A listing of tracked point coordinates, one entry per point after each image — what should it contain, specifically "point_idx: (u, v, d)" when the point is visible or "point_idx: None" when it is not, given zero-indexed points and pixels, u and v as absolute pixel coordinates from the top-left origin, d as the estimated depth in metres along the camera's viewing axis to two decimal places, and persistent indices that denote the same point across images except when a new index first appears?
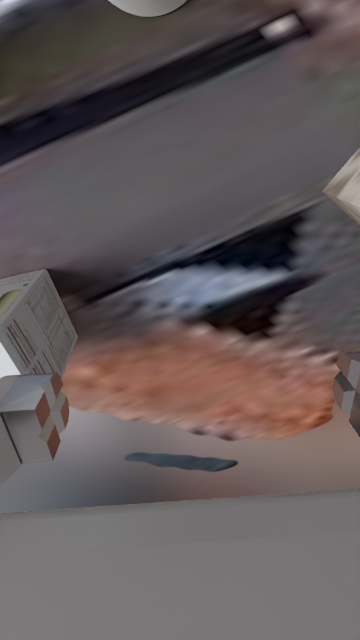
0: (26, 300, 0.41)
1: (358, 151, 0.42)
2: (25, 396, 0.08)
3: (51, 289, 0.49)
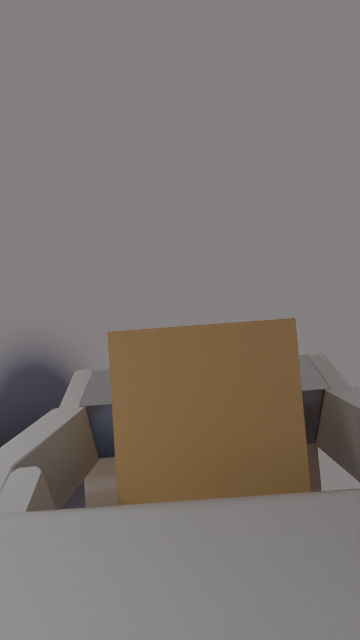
0: None
1: None
2: (106, 390, 0.08)
3: None
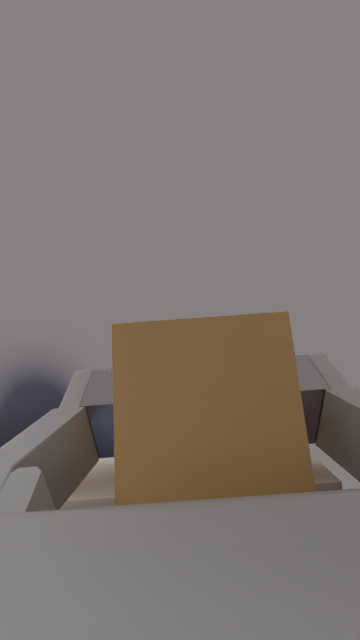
0: None
1: None
2: (106, 390, 0.08)
3: None
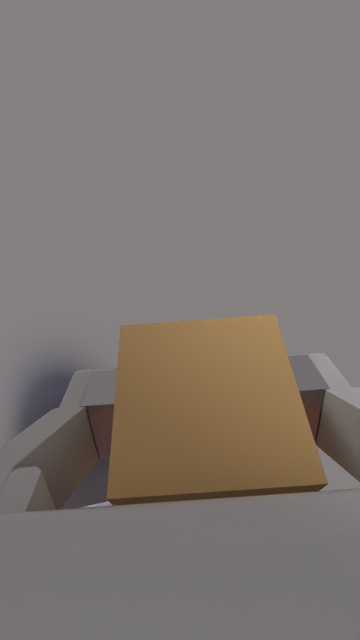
0: None
1: None
2: (106, 390, 0.08)
3: None
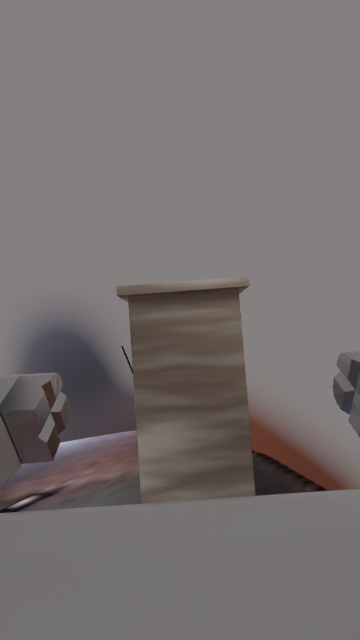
0: None
1: None
2: (25, 396, 0.08)
3: None
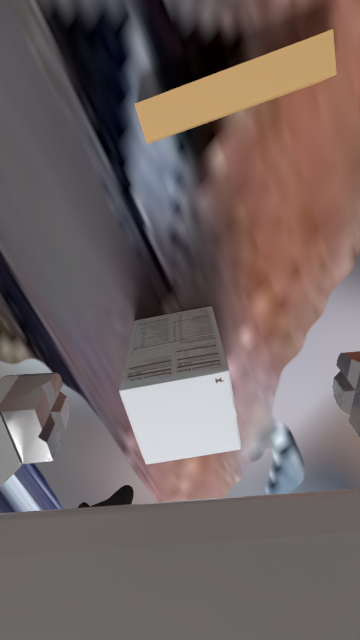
0: (131, 349, 0.44)
1: None
2: (25, 396, 0.08)
3: (150, 321, 0.51)
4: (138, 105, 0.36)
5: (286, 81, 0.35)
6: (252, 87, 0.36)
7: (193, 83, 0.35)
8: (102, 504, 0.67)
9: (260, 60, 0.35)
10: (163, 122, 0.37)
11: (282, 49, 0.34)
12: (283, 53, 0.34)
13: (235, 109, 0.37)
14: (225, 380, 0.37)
